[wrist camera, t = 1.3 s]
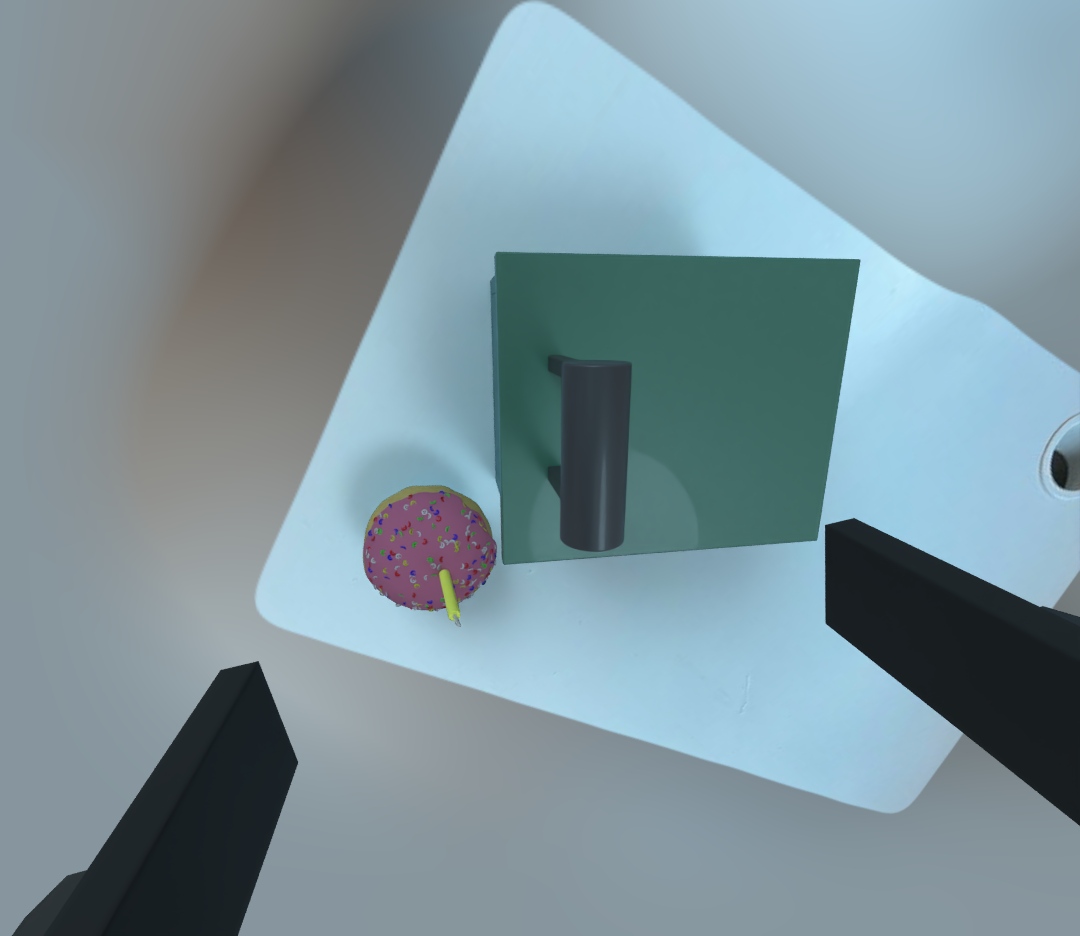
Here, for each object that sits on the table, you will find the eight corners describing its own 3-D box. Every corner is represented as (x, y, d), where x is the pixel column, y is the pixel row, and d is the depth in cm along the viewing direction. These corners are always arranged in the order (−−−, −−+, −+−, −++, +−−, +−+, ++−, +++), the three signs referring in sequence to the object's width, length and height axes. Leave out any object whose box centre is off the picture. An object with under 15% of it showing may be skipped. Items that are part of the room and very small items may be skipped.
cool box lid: (501, 558, 25) (525, 666, 17) (494, 254, 22) (520, 211, 14) (807, 534, 28) (951, 619, 20) (848, 261, 24) (1046, 229, 16)
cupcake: (510, 502, 39) (535, 577, 27) (455, 594, 40) (456, 702, 28) (406, 448, 36) (386, 505, 25) (350, 547, 37) (307, 645, 26)
